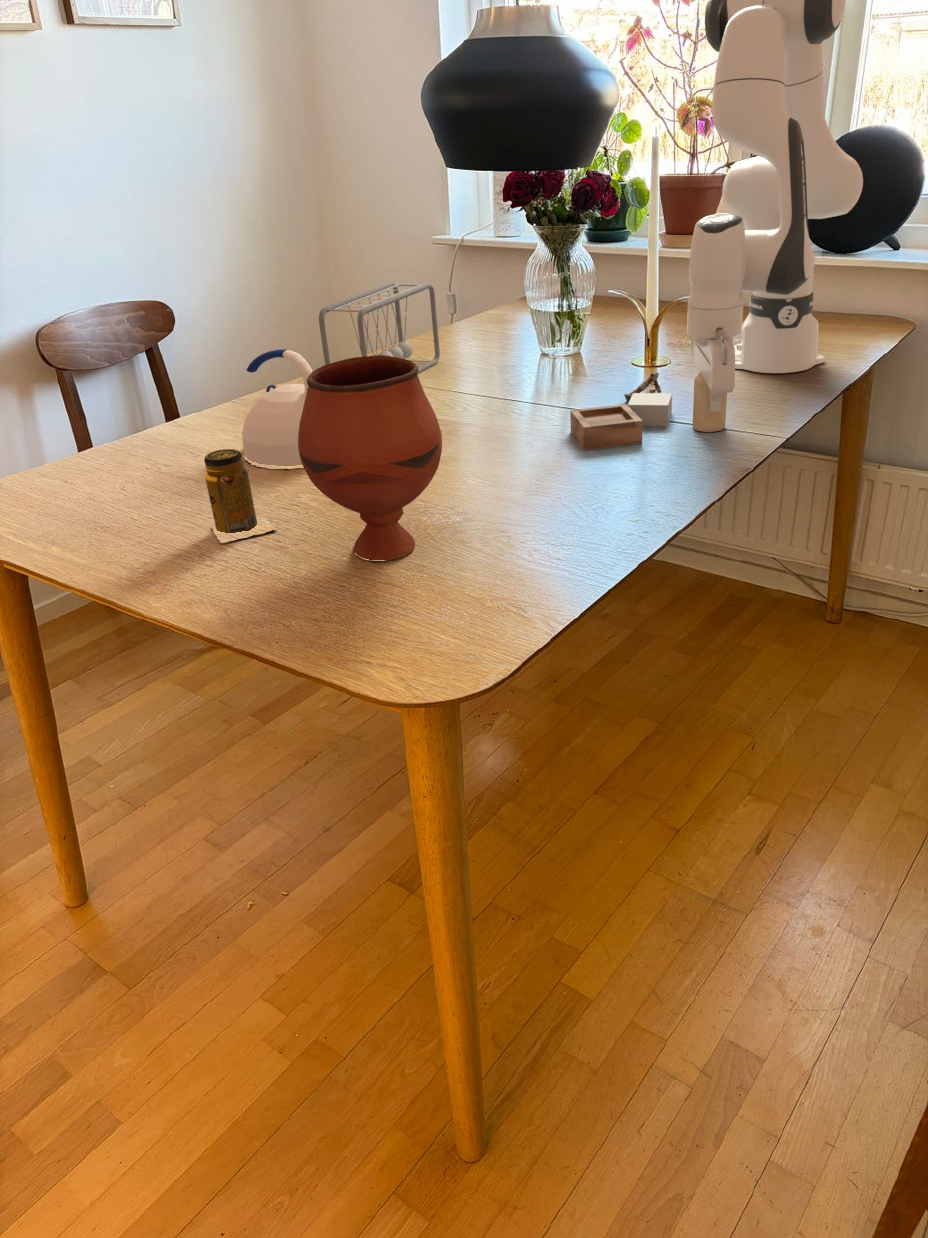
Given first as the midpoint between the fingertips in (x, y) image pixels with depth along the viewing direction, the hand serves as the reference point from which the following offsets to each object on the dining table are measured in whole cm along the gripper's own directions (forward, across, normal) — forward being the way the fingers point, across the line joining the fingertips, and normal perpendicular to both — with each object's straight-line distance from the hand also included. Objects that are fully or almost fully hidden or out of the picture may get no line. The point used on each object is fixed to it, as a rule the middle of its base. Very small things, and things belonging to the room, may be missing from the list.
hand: (710, 404), depth 168 cm
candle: (+4, 0, 0) cm, 4 cm away
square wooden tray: (+4, -2, +18) cm, 19 cm away
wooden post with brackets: (+5, +20, +9) cm, 22 cm away
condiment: (+4, -34, +74) cm, 82 cm away
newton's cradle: (+5, +46, +61) cm, 77 cm away
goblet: (+4, -43, +52) cm, 68 cm away
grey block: (+4, +6, +10) cm, 12 cm away
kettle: (+4, +1, +72) cm, 72 cm away
